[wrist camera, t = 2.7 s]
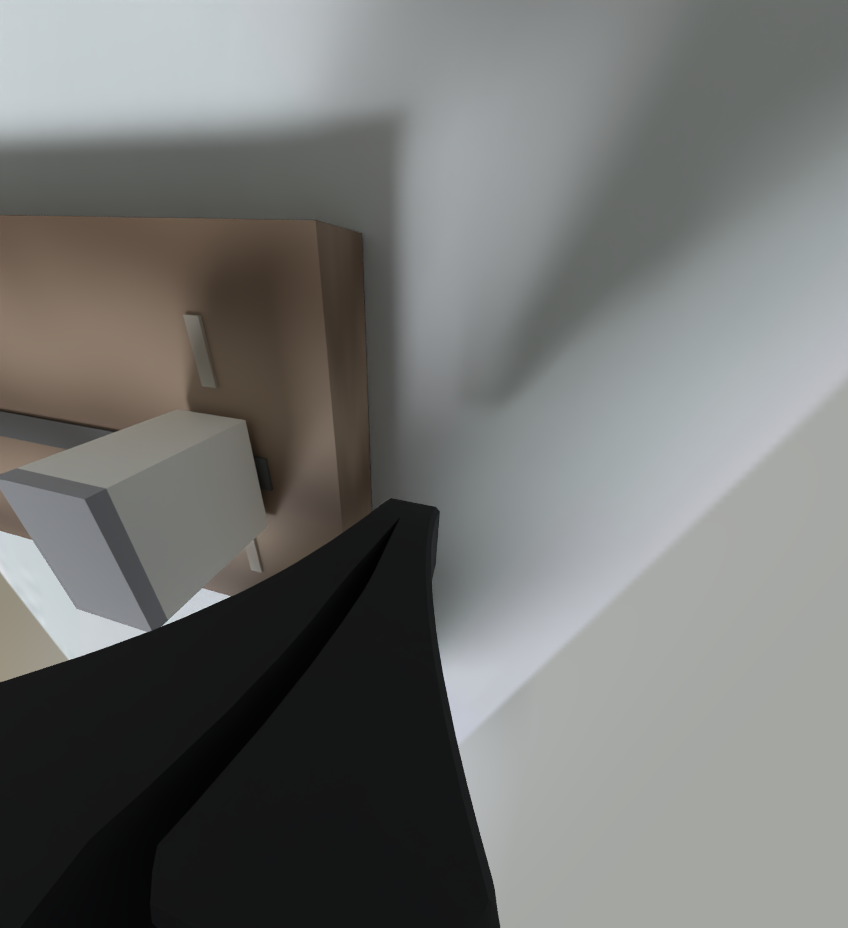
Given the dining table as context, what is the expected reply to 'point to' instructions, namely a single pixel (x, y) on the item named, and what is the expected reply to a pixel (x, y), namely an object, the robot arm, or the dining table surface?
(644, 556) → the dining table surface
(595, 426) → the dining table surface
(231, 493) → the fader tab
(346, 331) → the slider board
